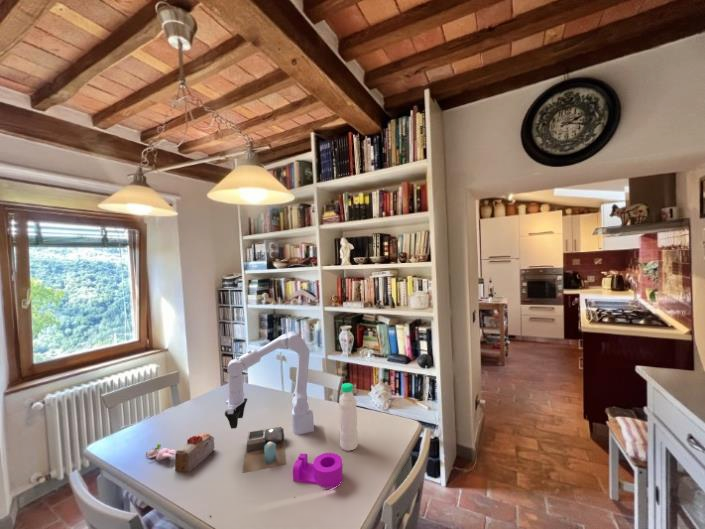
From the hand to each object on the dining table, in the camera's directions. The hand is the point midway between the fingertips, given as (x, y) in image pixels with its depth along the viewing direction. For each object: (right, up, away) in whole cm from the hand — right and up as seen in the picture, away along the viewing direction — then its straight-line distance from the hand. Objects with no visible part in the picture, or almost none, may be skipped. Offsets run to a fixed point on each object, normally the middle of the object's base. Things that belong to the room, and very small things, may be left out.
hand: (237, 422), depth 121 cm
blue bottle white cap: (+17, -8, -11) cm, 21 cm away
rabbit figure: (-27, -11, -6) cm, 30 cm away
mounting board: (+13, -10, -5) cm, 17 cm away
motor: (+12, -8, 0) cm, 15 cm away
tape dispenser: (+36, -9, -19) cm, 42 cm away
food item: (-12, -11, -9) cm, 19 cm away
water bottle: (+46, -9, -2) cm, 47 cm away
